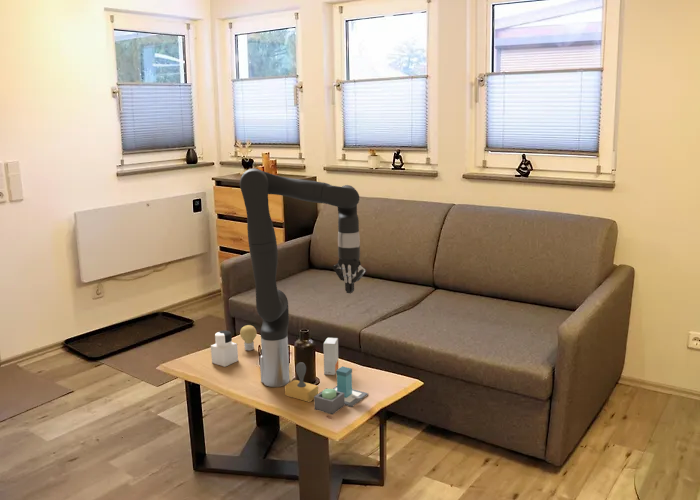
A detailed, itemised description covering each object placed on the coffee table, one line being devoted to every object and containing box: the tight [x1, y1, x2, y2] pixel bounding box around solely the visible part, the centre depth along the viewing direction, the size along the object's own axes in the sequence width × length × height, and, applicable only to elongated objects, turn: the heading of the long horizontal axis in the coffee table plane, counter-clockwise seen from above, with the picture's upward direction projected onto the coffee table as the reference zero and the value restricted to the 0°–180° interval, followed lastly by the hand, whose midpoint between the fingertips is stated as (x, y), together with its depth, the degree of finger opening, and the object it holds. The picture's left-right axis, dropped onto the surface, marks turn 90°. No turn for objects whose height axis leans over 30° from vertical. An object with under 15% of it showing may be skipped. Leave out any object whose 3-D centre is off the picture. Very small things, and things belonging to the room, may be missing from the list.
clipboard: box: [332, 385, 368, 407], centre depth 220 cm, size 12×10×1 cm
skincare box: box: [322, 337, 339, 376], centre depth 238 cm, size 6×4×12 cm
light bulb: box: [239, 324, 257, 352], centre depth 260 cm, size 6×6×10 cm
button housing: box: [313, 388, 346, 415], centre depth 212 cm, size 7×7×4 cm
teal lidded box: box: [335, 366, 353, 398], centre depth 218 cm, size 4×4×9 cm
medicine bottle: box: [210, 329, 239, 368], centre depth 248 cm, size 7×7×12 cm
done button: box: [321, 388, 336, 400], centre depth 211 cm, size 5×5×4 cm
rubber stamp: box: [284, 361, 319, 403], centre depth 220 cm, size 10×6×12 cm, turn 58°
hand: (349, 292), depth 229 cm, fingers closed
